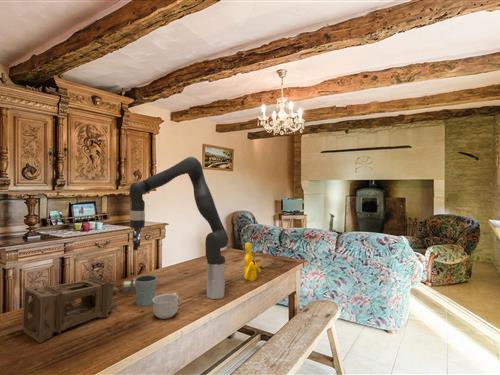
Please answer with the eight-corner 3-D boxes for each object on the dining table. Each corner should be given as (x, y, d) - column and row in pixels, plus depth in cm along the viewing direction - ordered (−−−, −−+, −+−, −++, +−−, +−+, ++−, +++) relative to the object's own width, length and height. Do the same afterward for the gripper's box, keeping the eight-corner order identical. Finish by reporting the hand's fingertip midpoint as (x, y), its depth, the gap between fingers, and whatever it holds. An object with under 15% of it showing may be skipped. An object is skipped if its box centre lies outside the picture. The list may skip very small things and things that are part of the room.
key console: (150, 290, 160) (150, 282, 160) (121, 293, 155) (122, 285, 155) (149, 283, 171) (149, 275, 171) (123, 285, 166) (123, 278, 166)
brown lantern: (109, 307, 144) (108, 268, 145) (131, 312, 134) (129, 270, 135) (22, 335, 115) (21, 286, 116) (41, 344, 105) (40, 290, 106)
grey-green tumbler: (150, 297, 151) (151, 273, 151) (160, 303, 144) (161, 278, 144) (130, 302, 144) (131, 277, 144) (140, 309, 137) (140, 283, 137)
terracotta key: (139, 287, 159) (139, 283, 159) (133, 288, 157) (133, 283, 157) (139, 284, 163) (139, 280, 163) (133, 285, 162) (133, 280, 162)
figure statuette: (247, 284, 173) (248, 246, 172) (236, 281, 177) (237, 244, 177) (263, 276, 188) (264, 241, 187) (252, 274, 192) (253, 240, 192)
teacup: (164, 323, 123) (164, 304, 123) (146, 317, 129) (147, 298, 129) (188, 311, 135) (188, 294, 135) (171, 306, 141) (171, 289, 141)
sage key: (130, 288, 157) (130, 283, 157) (123, 288, 156) (123, 284, 156) (130, 285, 161) (130, 281, 161) (124, 286, 160) (124, 281, 160)
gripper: (143, 220, 156) (142, 251, 157) (146, 217, 170) (145, 245, 171) (127, 220, 155) (127, 251, 155) (132, 217, 169) (131, 245, 169)
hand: (136, 248), depth 163 cm, fingers open, 8 cm apart
